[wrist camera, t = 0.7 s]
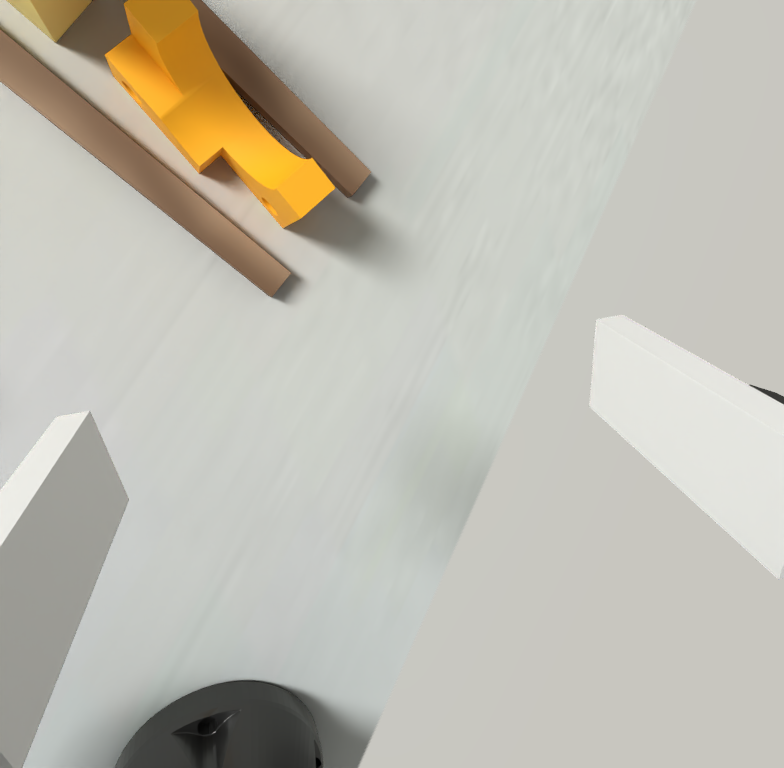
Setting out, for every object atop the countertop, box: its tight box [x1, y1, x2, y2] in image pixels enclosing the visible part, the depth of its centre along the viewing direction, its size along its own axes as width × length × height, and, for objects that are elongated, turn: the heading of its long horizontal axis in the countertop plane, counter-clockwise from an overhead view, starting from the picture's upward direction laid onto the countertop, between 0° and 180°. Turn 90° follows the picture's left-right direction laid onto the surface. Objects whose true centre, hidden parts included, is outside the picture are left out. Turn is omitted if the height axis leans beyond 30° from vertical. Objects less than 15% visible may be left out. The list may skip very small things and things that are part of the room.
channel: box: [0, 0, 371, 297], centre depth 30 cm, size 10×24×1 cm, turn 50°
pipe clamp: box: [105, 0, 335, 228], centre depth 29 cm, size 12×4×6 cm, turn 41°
